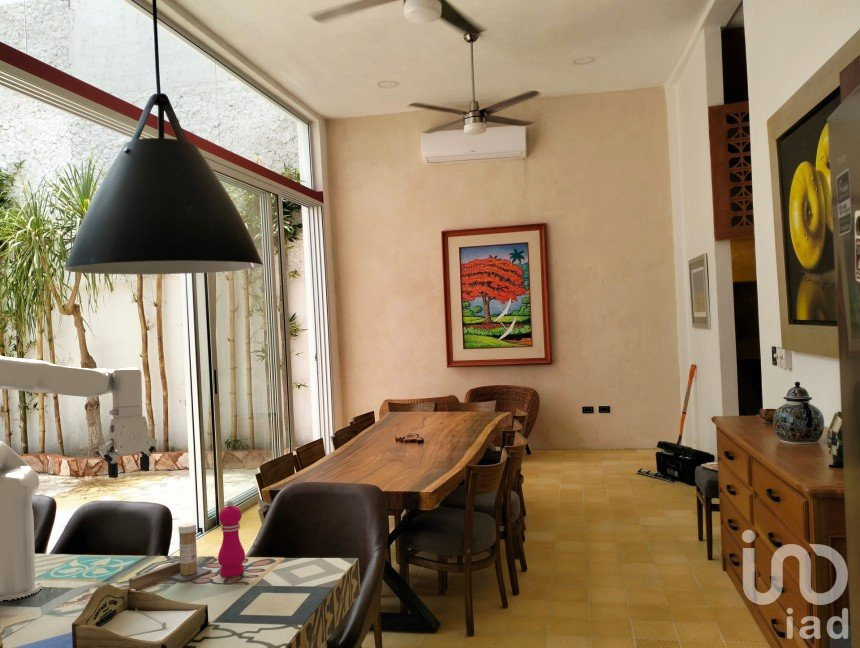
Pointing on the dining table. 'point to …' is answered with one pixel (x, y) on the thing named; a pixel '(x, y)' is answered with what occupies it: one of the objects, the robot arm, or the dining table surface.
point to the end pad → (188, 577)
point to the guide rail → (154, 575)
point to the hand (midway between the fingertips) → (129, 474)
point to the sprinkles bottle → (188, 549)
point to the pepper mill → (231, 542)
